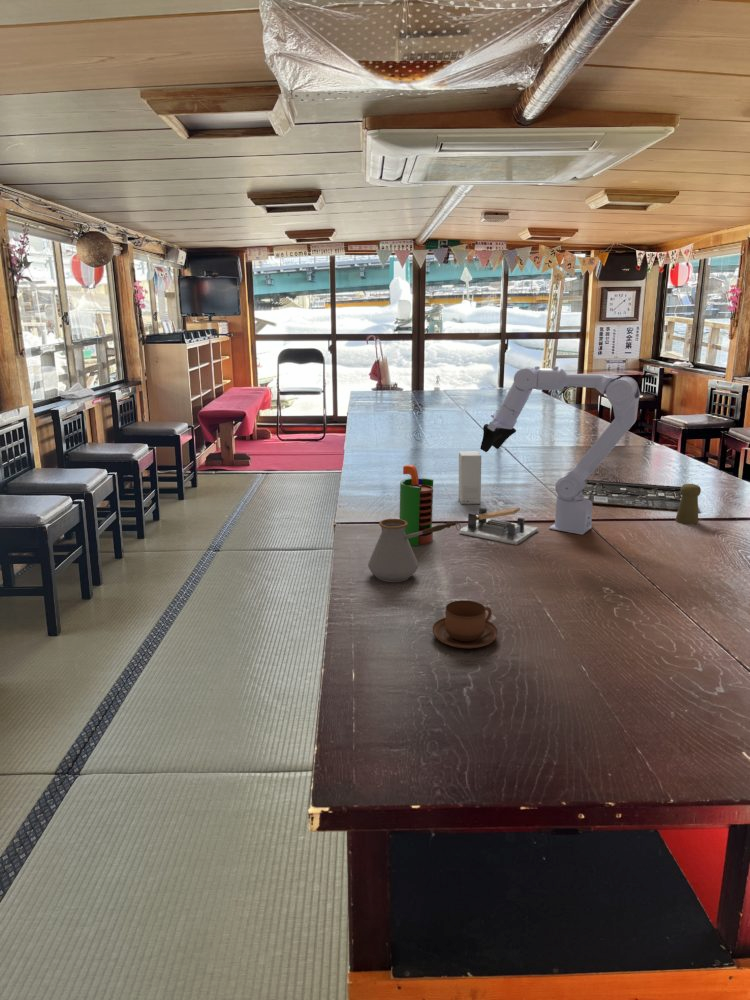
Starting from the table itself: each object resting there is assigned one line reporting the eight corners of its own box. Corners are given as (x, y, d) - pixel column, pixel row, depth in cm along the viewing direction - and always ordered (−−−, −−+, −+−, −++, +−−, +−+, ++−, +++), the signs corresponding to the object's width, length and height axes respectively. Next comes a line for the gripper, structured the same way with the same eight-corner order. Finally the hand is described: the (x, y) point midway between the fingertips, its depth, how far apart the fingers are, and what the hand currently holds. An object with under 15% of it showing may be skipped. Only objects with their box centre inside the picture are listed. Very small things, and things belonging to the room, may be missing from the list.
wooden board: (520, 511, 184) (519, 506, 184) (513, 515, 181) (512, 510, 181) (479, 517, 192) (478, 513, 192) (472, 521, 188) (471, 517, 188)
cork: (694, 518, 198) (698, 482, 195) (701, 525, 192) (706, 487, 189) (672, 518, 199) (676, 481, 196) (679, 524, 193) (683, 486, 190)
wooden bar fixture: (537, 530, 188) (538, 513, 186) (517, 544, 177) (518, 526, 175) (481, 520, 197) (482, 504, 196) (458, 533, 186) (459, 515, 185)
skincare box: (480, 504, 214) (482, 455, 209) (459, 504, 214) (461, 455, 210) (477, 497, 222) (479, 450, 218) (457, 497, 222) (458, 450, 218)
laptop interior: (577, 505, 214) (577, 499, 213) (581, 483, 239) (582, 478, 239) (699, 517, 203) (700, 511, 202) (690, 493, 228) (691, 487, 228)
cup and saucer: (455, 619, 135) (455, 590, 133) (509, 636, 128) (510, 606, 126) (419, 641, 126) (420, 610, 124) (475, 661, 119) (476, 629, 117)
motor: (430, 546, 176) (431, 471, 170) (396, 544, 177) (396, 469, 172) (434, 534, 185) (436, 462, 180) (402, 532, 187) (402, 461, 182)
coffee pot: (359, 581, 154) (359, 517, 150) (380, 564, 164) (380, 504, 160) (450, 596, 145) (452, 529, 141) (465, 577, 155) (468, 514, 151)
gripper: (510, 398, 197) (489, 438, 203) (488, 402, 186) (466, 444, 192) (530, 411, 194) (508, 451, 201) (509, 415, 183) (486, 457, 189)
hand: (489, 448), depth 196 cm, fingers open, 7 cm apart
